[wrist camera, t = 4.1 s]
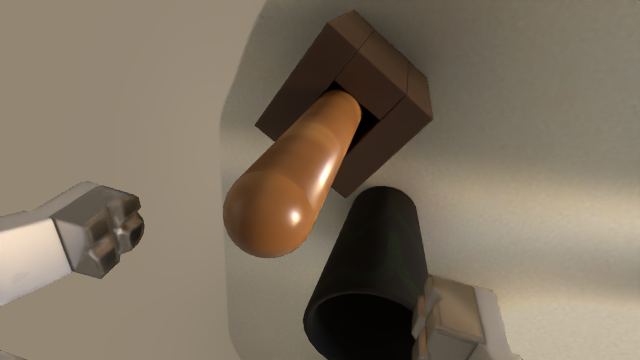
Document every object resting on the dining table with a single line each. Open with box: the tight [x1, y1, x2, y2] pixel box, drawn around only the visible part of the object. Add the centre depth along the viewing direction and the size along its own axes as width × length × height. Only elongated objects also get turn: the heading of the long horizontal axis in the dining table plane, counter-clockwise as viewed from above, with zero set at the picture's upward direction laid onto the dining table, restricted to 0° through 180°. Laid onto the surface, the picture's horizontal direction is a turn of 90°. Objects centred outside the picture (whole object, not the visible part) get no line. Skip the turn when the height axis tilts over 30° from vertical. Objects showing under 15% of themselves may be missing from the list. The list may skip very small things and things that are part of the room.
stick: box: [223, 82, 366, 258], centre depth 16 cm, size 2×2×18 cm
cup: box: [303, 186, 428, 360], centre depth 24 cm, size 8×8×12 cm
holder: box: [255, 10, 434, 198], centre depth 20 cm, size 7×7×8 cm
